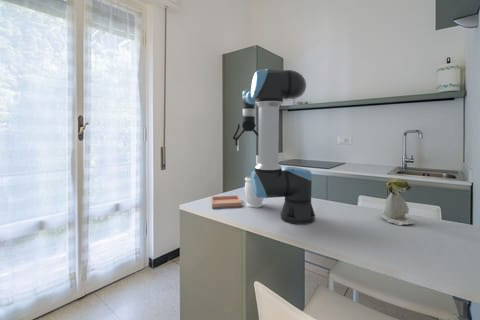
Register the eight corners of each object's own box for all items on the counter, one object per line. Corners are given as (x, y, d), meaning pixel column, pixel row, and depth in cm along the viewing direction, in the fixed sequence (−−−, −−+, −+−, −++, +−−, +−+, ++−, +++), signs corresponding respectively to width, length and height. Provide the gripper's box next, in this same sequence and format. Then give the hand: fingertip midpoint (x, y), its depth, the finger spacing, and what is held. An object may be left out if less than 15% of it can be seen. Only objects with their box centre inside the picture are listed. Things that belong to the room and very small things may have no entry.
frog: (384, 224, 105) (386, 181, 103) (377, 214, 117) (379, 176, 115) (417, 227, 101) (420, 183, 99) (406, 216, 113) (409, 177, 111)
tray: (241, 206, 131) (241, 202, 131) (212, 208, 129) (212, 203, 128) (238, 199, 145) (238, 195, 145) (211, 200, 143) (211, 196, 143)
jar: (242, 207, 130) (242, 179, 128) (247, 202, 140) (247, 175, 138) (262, 209, 127) (262, 180, 125) (266, 203, 136) (266, 176, 135)
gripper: (267, 116, 158) (267, 149, 160) (228, 116, 155) (228, 150, 158) (269, 115, 150) (269, 150, 153) (228, 115, 148) (229, 151, 150)
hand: (248, 150), depth 155 cm, fingers open, 13 cm apart
